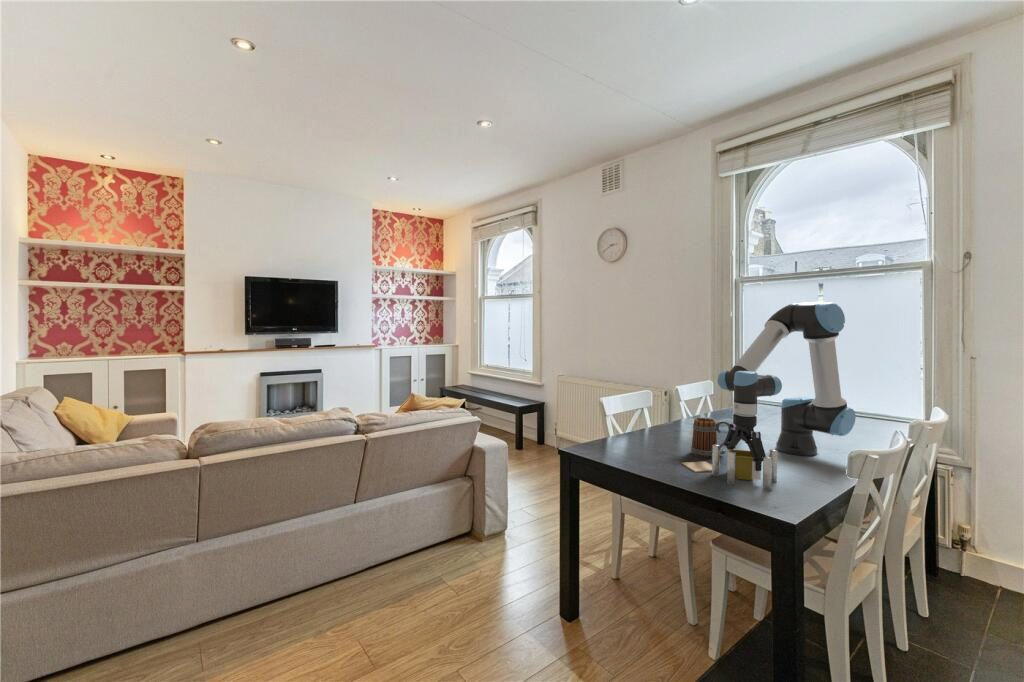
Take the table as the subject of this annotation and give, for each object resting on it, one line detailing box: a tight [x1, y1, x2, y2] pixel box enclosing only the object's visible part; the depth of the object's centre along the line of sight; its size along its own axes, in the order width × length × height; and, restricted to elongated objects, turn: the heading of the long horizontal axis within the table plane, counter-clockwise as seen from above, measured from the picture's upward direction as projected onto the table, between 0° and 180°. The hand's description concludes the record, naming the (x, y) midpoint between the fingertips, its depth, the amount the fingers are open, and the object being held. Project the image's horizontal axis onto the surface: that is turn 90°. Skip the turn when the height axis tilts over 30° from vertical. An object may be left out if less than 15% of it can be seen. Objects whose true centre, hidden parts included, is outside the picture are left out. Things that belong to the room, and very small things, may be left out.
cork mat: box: [681, 460, 712, 473], centre depth 175 cm, size 10×10×1 cm
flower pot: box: [729, 449, 754, 481], centre depth 164 cm, size 9×9×9 cm
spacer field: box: [711, 443, 778, 493], centre depth 160 cm, size 18×19×11 cm
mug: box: [690, 417, 731, 459], centre depth 191 cm, size 16×11×15 cm
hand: (743, 472), depth 164 cm, fingers open, 13 cm apart
